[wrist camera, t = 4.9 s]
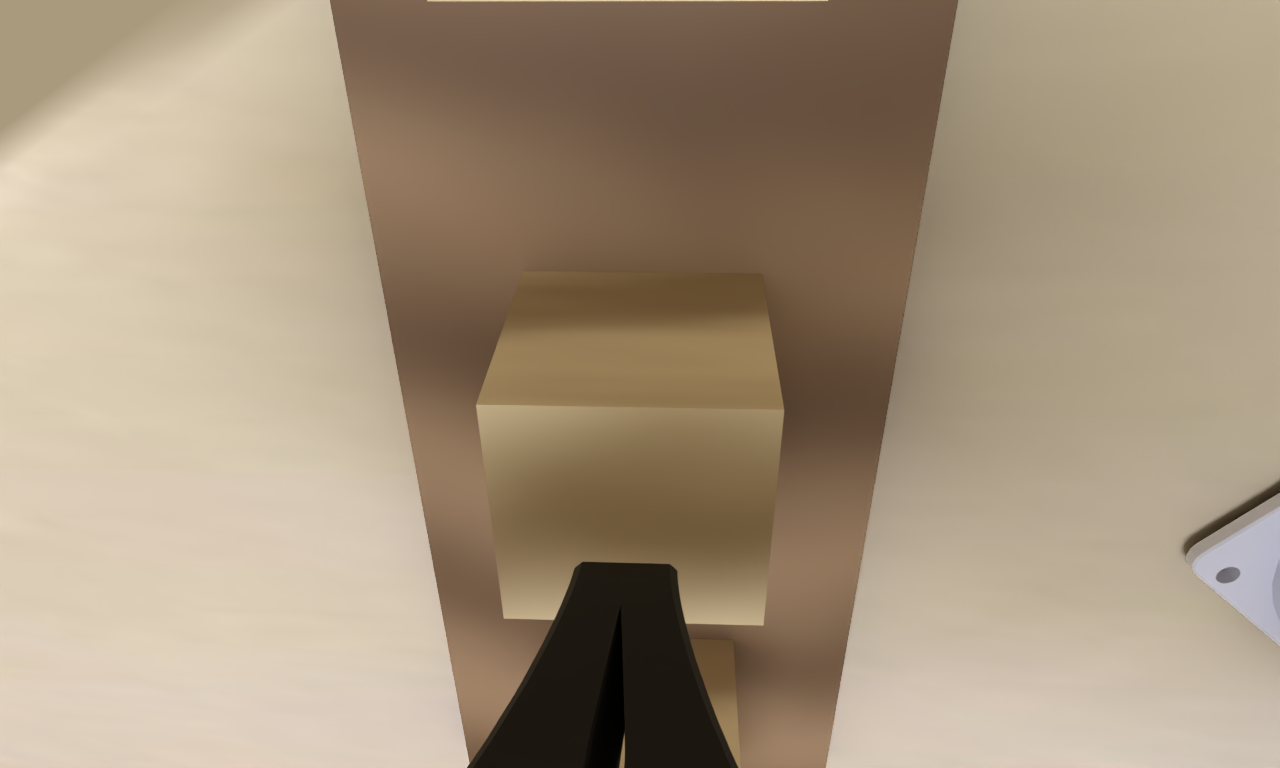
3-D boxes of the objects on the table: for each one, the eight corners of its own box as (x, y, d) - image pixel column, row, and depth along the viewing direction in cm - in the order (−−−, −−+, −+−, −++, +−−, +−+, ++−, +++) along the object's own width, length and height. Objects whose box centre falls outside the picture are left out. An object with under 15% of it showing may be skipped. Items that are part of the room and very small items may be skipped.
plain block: (522, 270, 17) (476, 404, 13) (761, 273, 17) (784, 410, 13) (539, 460, 19) (503, 618, 16) (747, 464, 19) (763, 625, 15)
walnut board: (249, -598, 11) (214, -631, 11) (1041, -620, 11) (1070, -655, 10) (479, 750, 27) (472, 780, 26) (816, 761, 26) (821, 792, 25)
